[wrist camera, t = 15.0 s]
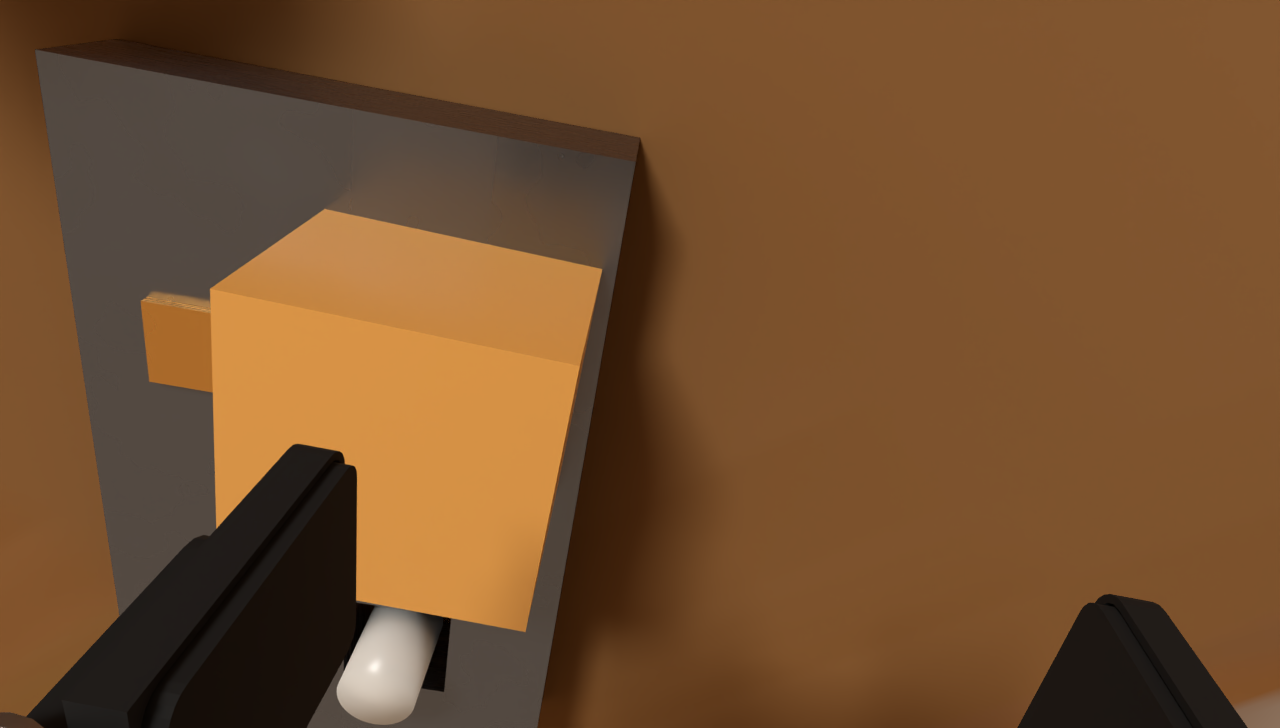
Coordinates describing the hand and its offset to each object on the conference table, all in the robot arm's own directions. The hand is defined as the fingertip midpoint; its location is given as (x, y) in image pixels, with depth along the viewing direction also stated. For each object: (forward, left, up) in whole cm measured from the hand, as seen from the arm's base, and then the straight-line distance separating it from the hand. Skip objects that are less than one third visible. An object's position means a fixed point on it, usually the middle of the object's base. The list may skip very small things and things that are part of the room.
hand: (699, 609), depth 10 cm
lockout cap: (+6, +3, -11) cm, 13 cm away
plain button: (+7, +14, -13) cm, 20 cm away
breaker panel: (+9, +8, -14) cm, 19 cm away
